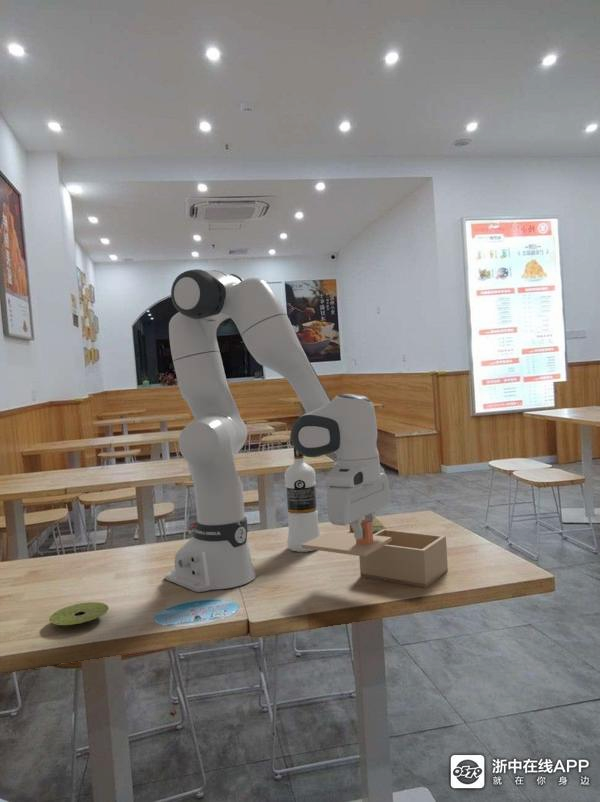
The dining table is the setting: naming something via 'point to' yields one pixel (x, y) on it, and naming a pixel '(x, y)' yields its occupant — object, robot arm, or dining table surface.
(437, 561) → the brown carton
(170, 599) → the dining table surface
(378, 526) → the carton
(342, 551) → the box lid
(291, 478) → the vodka
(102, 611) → the green disc
